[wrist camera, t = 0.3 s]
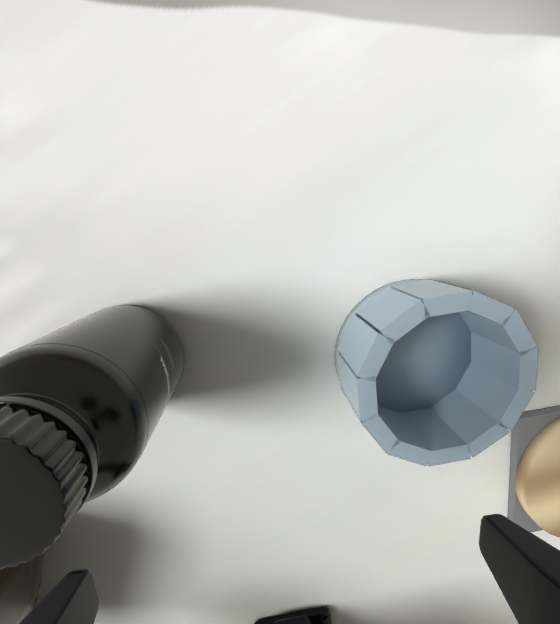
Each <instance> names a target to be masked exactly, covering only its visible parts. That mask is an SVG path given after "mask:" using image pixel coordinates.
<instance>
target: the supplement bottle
mask: <svg viewBox="0 0 560 624" xmlns="http://www.w3.org/2000/svg"><path fill="white" fill-rule="evenodd" d="M183 366H184V352H183V348H182V344H181V341H180V339H179V337H178V335H177V333H176V332H175V330H174V329H173V328H172V326H171V325H170V324H169V323H168V322H167V321H166V320H164V319H163V318H162V317H160V316H159V315H157V314H156V313H154V312H152V311H150V310H147V309H144V308H141V307H137V306H129V305H120V306H113V307H108V308H105V309H102V310H100V311H97V312H95V313H92V314H90V315H88V316H86V317H84V318H82V319H79V320H77V321H75V322H73V323H71V324H69V325H67V326H65V327H62V328H60V329H58V330H56V331H54V332H52V333H50V334H48V335H45V336H43V337H41V338H39V339H37V340H35V341H33V342H31V343H28V344H26V345H24V346H22V347H20V348H18V349H16V350H14V351H12V352H10V353H8V354H6V355H4V356H2V357H1V358H0V570H1V569H3V568H5V567H16V566H17V565H19V564H20V563H24V562H30V561H31V560H32V559H33V558H34V557H35V556H39V555H42V554H43V553H44V552H45V551H46V549H47V548H48V547H50V546H52V545H53V544H54V543H55V542H56V541H57V539H58V538H59V536H60V535H61V533H62V532H63V531H64V530H65V528H66V527H67V525H68V524H69V522H70V521H71V519H72V518H73V516H74V514H75V513H76V512H77V511H78V510H79V509H80V508H81V507H82V505H83V504H84V503H85V502H88V501H90V500H92V499H95V498H97V497H99V496H101V495H103V494H105V493H106V492H108V491H109V490H111V489H112V488H114V487H115V486H116V485H118V484H119V483H120V482H121V481H122V480H123V479H124V478H125V477H126V476H127V475H128V474H129V473H130V472H131V470H132V469H133V467H134V466H135V464H136V463H137V461H138V460H139V458H140V456H141V454H142V453H143V451H144V449H145V447H146V445H147V443H148V441H149V439H150V437H151V435H152V433H153V431H154V429H155V427H156V425H157V423H158V421H159V419H160V417H161V416H162V414H163V412H164V410H165V408H166V406H167V404H168V402H169V400H170V398H171V396H172V394H173V392H174V390H175V388H176V386H177V384H178V382H179V380H180V377H181V375H182V371H183Z"/></svg>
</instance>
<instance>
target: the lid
mask: <svg viewBox="0 0 560 624" xmlns="http://www.w3.org/2000/svg"><path fill="white" fill-rule="evenodd" d="M514 488H515V493H516V497H517V500H518V502H519V504H520V506H521V507H522V509H523V510H524V511H525V512H526V513H527V514H528V515H529V516H530V517H531V518H532V519H533V520H534V521H535V522H536V524H537V525H538V526H540V527H541V528H542V529H543V530H544V531H546V532H548V533H550V534H552V535H554V536H557V537H560V416H559V417H557V418H556V419H554V420H552V421H551V422H550V423H548V424H547V425H546V426H545V427H544V428H542V429H541V430H540V431H539V432H538V433H537V434H536V435H535V437H534V438H533V439H532V440H531V441H530V443H529V444H528V445H527V447H526V448H525V450H524V452H523V454H522V455H521V458H520V460H519V462H518V465H517V469H516V472H515V479H514Z"/></svg>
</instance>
